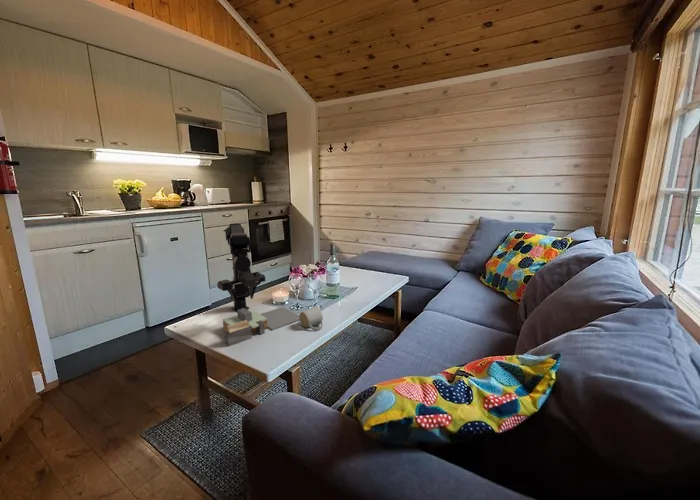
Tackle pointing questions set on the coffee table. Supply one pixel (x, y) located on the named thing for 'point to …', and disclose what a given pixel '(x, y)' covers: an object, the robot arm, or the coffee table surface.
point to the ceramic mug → (311, 318)
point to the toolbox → (243, 333)
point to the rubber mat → (280, 318)
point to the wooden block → (237, 326)
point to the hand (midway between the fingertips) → (243, 300)
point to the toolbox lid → (245, 318)
